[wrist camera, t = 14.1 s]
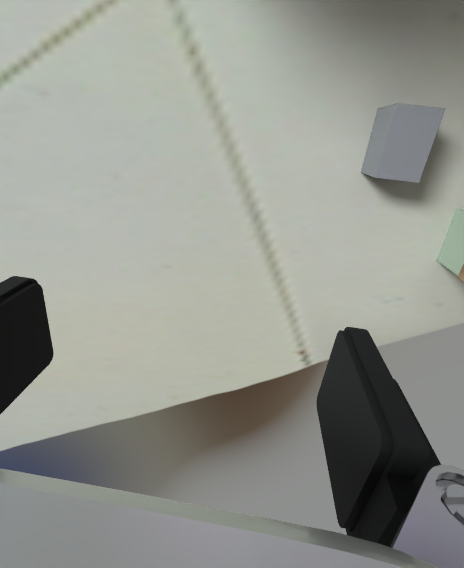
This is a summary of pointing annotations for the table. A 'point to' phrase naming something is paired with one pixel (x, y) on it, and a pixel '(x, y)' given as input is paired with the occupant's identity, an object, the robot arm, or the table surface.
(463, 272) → the walnut brick
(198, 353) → the table surface
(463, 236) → the sage brick
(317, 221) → the table surface
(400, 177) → the grey toy block
